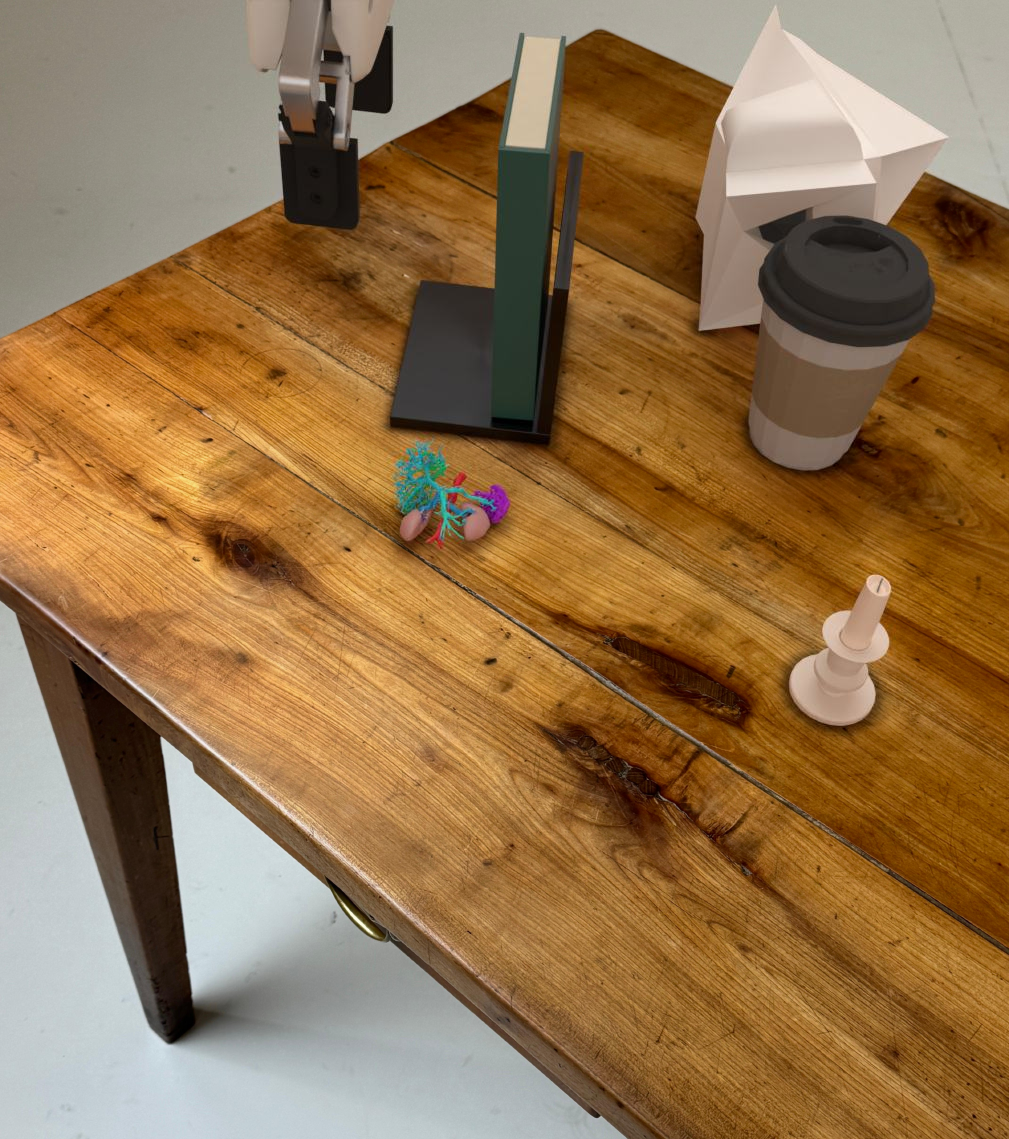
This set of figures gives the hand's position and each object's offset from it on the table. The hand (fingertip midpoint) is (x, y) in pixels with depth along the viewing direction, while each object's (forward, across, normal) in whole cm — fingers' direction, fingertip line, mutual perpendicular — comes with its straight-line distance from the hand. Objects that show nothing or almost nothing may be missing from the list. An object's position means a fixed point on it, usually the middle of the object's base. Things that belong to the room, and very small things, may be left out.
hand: (341, 162), depth 59 cm
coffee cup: (+28, -18, +29) cm, 44 cm away
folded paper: (+28, -40, +28) cm, 57 cm away
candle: (+28, +5, +30) cm, 42 cm away
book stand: (+28, -22, +6) cm, 36 cm away
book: (+17, -22, +7) cm, 29 cm away
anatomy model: (+28, -5, +5) cm, 29 cm away
